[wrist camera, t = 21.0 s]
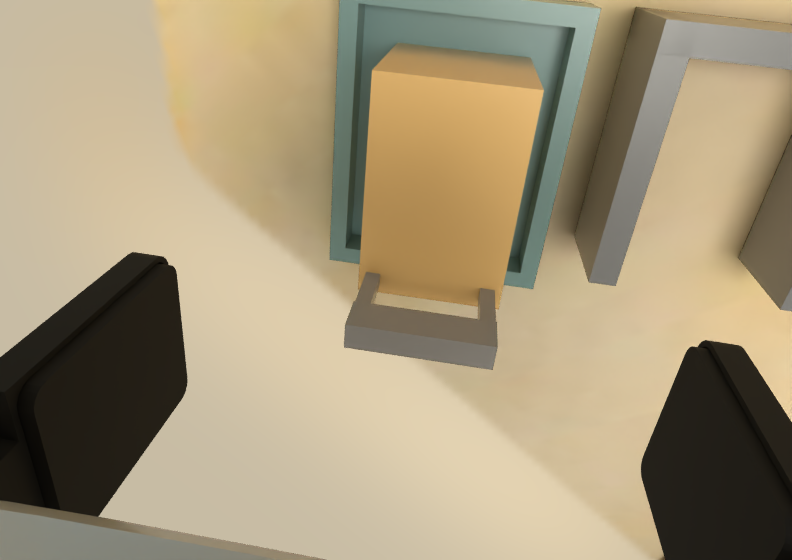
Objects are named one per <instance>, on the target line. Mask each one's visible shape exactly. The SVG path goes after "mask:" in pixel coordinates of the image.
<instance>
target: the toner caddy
mask: <svg viewBox="0 0 792 560" xmlns="http://www.w3.org/2000/svg"><path fill="white" fill-rule="evenodd" d="M543 92H544V89H543V87H542V84H541V82H540V80H539V77H538V75H537V72H536V70H535V67H534V65H533V62H532V60H531V58H529V57H520V56H512V55H503V54H494V53H485V52H476V51H468V50H459V49H450V48H441V47H432V46H423V45H415V44H406V43H397V44H396V45H395V46H394V47H393V48H392V49H391V50H390V51H389V53H388V54H387V55H386V56H385V57H384V58H383V59H382V60H381V61H380V62H379V63H378V64H377V65H376V66H375V67H374V69H373V70H372V78H371V94H370V109H369V125H368V141H367V156H366V172H365V188H364V203H363V219H362V235H361V250H360V266H359V282H358V289H360V290H359V293H358V295H357V298H356V301H354V302H353V305H352V308H351V310H350V313H349V316H348V318H347V321H346V324H345V338H344V347H346V348H353V349H359V350H365V351H372V352H378V353H385V354H392V355H398V356H405V357H411V358H418V359H424V360H431V361H438V362H444V363H451V364H457V365H464V366H470V367H477V368H484V369H490V370H493V366H494V361H495V356H496V352H497V322H496V314H495V309H499V304H500V299H501V294H502V289H503V285H504V280H505V275H506V270H507V265H508V261H509V256H510V251H511V246H512V241H513V237H514V232H515V227H516V222H517V217H518V213H519V208H520V203H521V198H522V193H523V188H524V184H525V179H526V174H527V169H528V164H529V160H530V155H531V150H532V145H533V140H534V136H535V131H536V126H537V121H538V116H539V111H540V107H541V102H542V97H543ZM377 292H381V293H388V294H395V295H402V296H409V297H416V298H423V299H430V300H436V301H443V302H450V303H457V304H464V305H471V306H478V319H472V318H466V317H459V316H452V315H445V314H438V313H431V312H424V311H418V310H411V309H404V308H397V307H390V306H383V305H377V304H374V301H375V298H376V295H377Z"/></svg>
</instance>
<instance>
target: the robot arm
mask: <svg viewBox="0 0 792 560" xmlns="http://www.w3.org/2000/svg"><path fill="white" fill-rule="evenodd" d="M186 387H187V371H186V362H185V351H184V342H183V331H182V322H181V312H180V302H179V292H178V282H177V274H176V270H175V268H174V267H173V266H170V265H168V262H167V260H166V259H165V258H164V257H162V256H155V255H149V254H142V253H136V252H135V253H134V252H132V253H130V254H128V255H127V256H126V257H125V258H123V259H122V260H121V261H120V262H118V263H117V264H116V265H115V266H113V267H112V268H111V269H110V270H108V271H107V272H106V273H105V274H103V275H102V276H101V277H100V278H99V279H97V280H96V281H95V282H94V283H92V284H91V285H90V286H88V287H87V288H86V289H85V290H84V291H82V292H81V293H80V294H78V295H77V296H76V297H75V298H74V299H72V300H71V301H70V302H69V303H67V304H66V305H65V306H64V307H62V308H61V309H60V310H59V311H57V312H56V313H55V314H54V315H52V316H51V317H50V318H49V319H48V320H46V321H45V322H44V323H42V324H41V325H40V326H39V327H37V328H36V329H35V330H34V331H32V332H31V333H30V334H29V335H28V336H26V337H25V338H24V339H22V340H21V341H20V342H19V343H18V344H16V345H15V346H14V347H13V348H11V349H10V350H9V351H8V352H6V353H5V354H4V355H3V356H1V357H0V560H325V559H320V558H314V557H309V556H304V555H299V554H294V553H288V552H283V551H278V550H273V549H267V548H262V547H257V546H252V545H246V544H241V543H236V542H230V541H225V540H219V539H214V538H209V537H204V536H198V535H193V534H188V533H182V532H177V531H171V530H166V529H161V528H156V527H150V526H145V525H140V524H134V523H129V522H124V521H118V520H113V519H108V518H102V517H98V516H99V515H100V513H101V512H102V510H103V509H104V508H105V506H106V505H107V504H108V502H109V501H110V499H111V498H112V497H113V495H114V494H115V492H116V491H117V489H118V488H119V486H120V485H121V484H122V482H123V481H124V479H125V478H126V477H127V475H128V474H129V473H130V471H131V470H132V468H133V467H134V465H135V464H136V463H137V461H138V460H139V458H140V457H141V456H142V454H143V453H144V451H145V450H146V449H147V447H148V446H149V444H150V443H151V442H152V440H153V439H154V437H155V436H156V435H157V433H158V432H159V430H160V429H161V428H162V426H163V425H164V423H165V422H166V421H167V419H168V418H169V416H170V415H171V413H172V412H173V411H174V409H175V408H176V406H177V405H178V404H179V402H180V401H181V399H182V398H183V396H184V394H185V391H186ZM641 476H642V481H643V484H644V487H645V491H646V494H647V498H648V501H649V505H650V508H651V512H652V515H653V519H654V522H655V525H656V529H657V532H658V536H659V539H660V543H661V546H662V550H663V553H664V557H665V560H792V422H791V421H790V419H789V417H788V416H787V414H786V413H785V411H784V410H783V408H782V407H781V405H780V404H779V402H778V401H777V399H776V397H775V396H774V394H773V393H772V391H771V390H770V388H769V387H768V385H767V384H766V382H765V381H764V379H763V377H762V376H761V374H760V373H759V371H758V370H757V368H756V367H755V365H754V364H753V362H752V361H751V359H750V357H749V356H748V354H747V353H746V351H745V350H744V349H743V348H742V347H741V346H739V345H733V344H727V343H720V342H714V341H707V340H705V341H702V342H701V343H700V344H699V346H698V347H690V348H689V349H688V350H687V352H686V354H685V356H684V358H683V361H682V363H681V366H680V368H679V371H678V373H677V375H676V378H675V380H674V383H673V385H672V388H671V390H670V392H669V395H668V397H667V400H666V402H665V405H664V407H663V409H662V412H661V414H660V417H659V419H658V422H657V424H656V426H655V429H654V431H653V434H652V436H651V439H650V441H649V444H648V446H647V448H646V451H645V453H644V456H643V459H642V464H641Z"/></svg>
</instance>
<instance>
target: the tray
mask: <svg viewBox="0 0 792 560" xmlns="http://www.w3.org/2000/svg"><path fill="white" fill-rule="evenodd" d="M600 11H601V8H599V7H597V6H595V5H593V4H591V3H582V2H573V1H564V0H340V3H339V29H338V55H337V81H336V107H335V133H334V159H333V184H332V210H331V236H330V260H336V261H343V262H350V263H357V264H360V250H361V235H362V219H363V203H364V188H365V172H366V156H367V141H368V125H369V109H370V94H371V78H372V70H373V69H374V67H375V66H376V65H377V64H378V63H379V62H380V61H381V60H382V59H383V58H384V57H385V56H386V55H387V54H388V53H389V51H390V50H391V49H392V48H393V47H394V46H395V45H396V44H397V43H406V44H415V45H423V46H432V47H441V48H450V49H459V50H468V51H476V52H485V53H494V54H503V55H512V56H520V57H529V58H531V60H532V62H533V65H534V67H535V70H536V72H537V75H538V77H539V80H540V82H541V84H542V87H543V89H544V92H543V97H542V102H541V107H540V111H539V116H538V121H537V126H536V131H535V136H534V140H533V145H532V150H531V155H530V160H529V164H528V169H527V174H526V179H525V184H524V188H523V193H522V198H521V203H520V208H519V213H518V217H517V222H516V227H515V232H514V237H513V241H512V246H511V251H510V256H509V261H508V265H507V270H506V275H505V280H504V285H509V286H516V287H522V288H529V289H533V287H534V283H535V279H536V275H537V270H538V266H539V262H540V258H541V254H542V250H543V246H544V242H545V237H546V233H547V229H548V225H549V221H550V217H551V213H552V209H553V205H554V200H555V196H556V192H557V188H558V184H559V180H560V176H561V172H562V167H563V163H564V159H565V155H566V151H567V147H568V143H569V139H570V134H571V130H572V126H573V122H574V118H575V114H576V110H577V106H578V101H579V97H580V93H581V89H582V85H583V81H584V77H585V73H586V68H587V64H588V60H589V56H590V52H591V48H592V44H593V40H594V35H595V31H596V27H597V23H598V19H599V15H600Z"/></svg>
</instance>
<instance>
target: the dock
mask: <svg viewBox="0 0 792 560" xmlns="http://www.w3.org/2000/svg"><path fill="white" fill-rule="evenodd" d="M689 58H693V59H702V60H710V61H719V62H728V63H736V64H745V65H754V66H762V67H771V68H780V69H788V70H792V24H785V23H776V22H767V21H758V20H748V19H739V18H730V17H721V16H712V15H703V14H694V13H685V12H676V11H667V10H657V9H648V8H639V7H636V9H635V13H634V16H633V20H632V24H631V27H630V31H629V35H628V39H627V42H626V46H625V50H624V53H623V57H622V61H621V65H620V68H619V72H618V76H617V79H616V83H615V87H614V91H613V94H612V98H611V102H610V105H609V109H608V113H607V116H606V120H605V124H604V128H603V131H602V135H601V139H600V142H599V146H598V150H597V154H596V157H595V161H594V165H593V168H592V172H591V176H590V180H589V183H588V187H587V191H586V194H585V198H584V202H583V206H582V209H581V213H580V217H579V220H578V224H577V228H576V232H575V235H574V236H575V239H576V243H577V246H578V249H579V252H580V256H581V259H582V262H583V265H584V268H585V272H586V275H587V278H588V281H589V282H591V283H598V284H605V285H612V286H616V283H617V280H618V277H619V274H620V271H621V268H622V265H623V262H624V259H625V255H626V252H627V249H628V246H629V243H630V240H631V237H632V234H633V231H634V228H635V225H636V221H637V218H638V215H639V212H640V209H641V206H642V203H643V200H644V197H645V194H646V191H647V188H648V184H649V181H650V178H651V175H652V172H653V169H654V166H655V163H656V160H657V157H658V154H659V150H660V147H661V144H662V141H663V138H664V135H665V132H666V129H667V126H668V123H669V120H670V117H671V113H672V110H673V107H674V104H675V101H676V98H677V95H678V92H679V89H680V86H681V83H682V79H683V76H684V73H685V70H686V67H687V64H688V61H689ZM739 260H740V261H741V262H742V263H743V265H744V266H745V267H746V268H747V269H748V271H749V272H750V273H751V274H752V276H753V277H754V278H755V279H756V280H757V282H758V283H759V284H760V285H761V287H762V288H763V289H764V290H765V291H766V293H767V294H768V295H769V296H770V298H771V299H772V300H773V301H774V303H775V304H776V305H777V306H778V307H779V309H780V310H786V311H792V136H791V138H790V140H789V143H788V145H787V147H786V150H785V152H784V154H783V157H782V159H781V161H780V164H779V166H778V168H777V170H776V173H775V175H774V177H773V180H772V182H771V184H770V187H769V189H768V191H767V193H766V196H765V198H764V200H763V203H762V205H761V207H760V210H759V212H758V214H757V216H756V219H755V221H754V223H753V226H752V228H751V230H750V233H749V235H748V237H747V240H746V242H745V244H744V246H743V249H742V251H741V253H740V256H739Z"/></svg>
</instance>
